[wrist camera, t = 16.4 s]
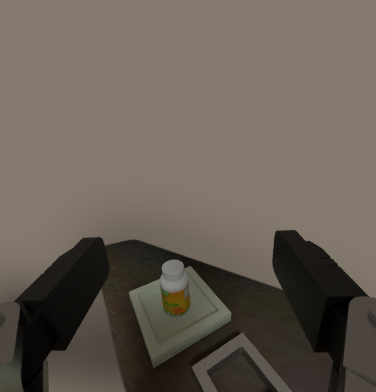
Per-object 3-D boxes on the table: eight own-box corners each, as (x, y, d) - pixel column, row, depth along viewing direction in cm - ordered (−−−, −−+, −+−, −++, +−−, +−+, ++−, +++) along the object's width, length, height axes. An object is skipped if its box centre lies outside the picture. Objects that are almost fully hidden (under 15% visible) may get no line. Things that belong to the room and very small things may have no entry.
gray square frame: (242, 340, 33) (242, 332, 33) (295, 406, 25) (297, 397, 25) (192, 374, 29) (191, 366, 29) (237, 466, 21) (237, 458, 21)
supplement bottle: (158, 314, 38) (152, 273, 35) (170, 293, 43) (165, 255, 39) (184, 322, 36) (180, 280, 33) (194, 299, 41) (191, 259, 37)
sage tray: (190, 272, 49) (190, 266, 49) (230, 320, 37) (230, 312, 36) (130, 299, 43) (128, 292, 42) (153, 368, 30) (151, 359, 30)
